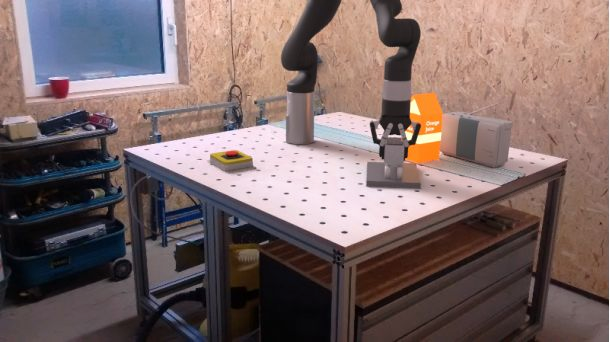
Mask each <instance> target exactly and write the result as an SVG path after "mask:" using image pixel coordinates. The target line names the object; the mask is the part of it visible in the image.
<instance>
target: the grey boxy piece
mask: <svg viewBox="0 0 610 342" xmlns="http://www.w3.org/2000/svg"><path fill="white" fill-rule="evenodd" d="M384 145H385V150H384V159H383V162H384V167H386V166H388V167H402V168H403V163H405V162H404V161H405V160H404V143H403V140H402V137H392V136H388V138H387V140H386V142H385V144H384Z"/></svg>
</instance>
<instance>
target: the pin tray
mask: <svg viewBox="0 0 610 342" xmlns="http://www.w3.org/2000/svg"><path fill="white" fill-rule="evenodd" d="M417 166H418V165H417V163H415V162H403V168H402V167H388V166H386V167H384V161H367V162H366V178H365V179H366V181H365V182H366V183H365V184H366V185H365V187H372V188H373V187H378V188H399V189H421V188H422V181H421V177H420V173H419V170H418V169H419V168H418V167H417Z"/></svg>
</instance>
